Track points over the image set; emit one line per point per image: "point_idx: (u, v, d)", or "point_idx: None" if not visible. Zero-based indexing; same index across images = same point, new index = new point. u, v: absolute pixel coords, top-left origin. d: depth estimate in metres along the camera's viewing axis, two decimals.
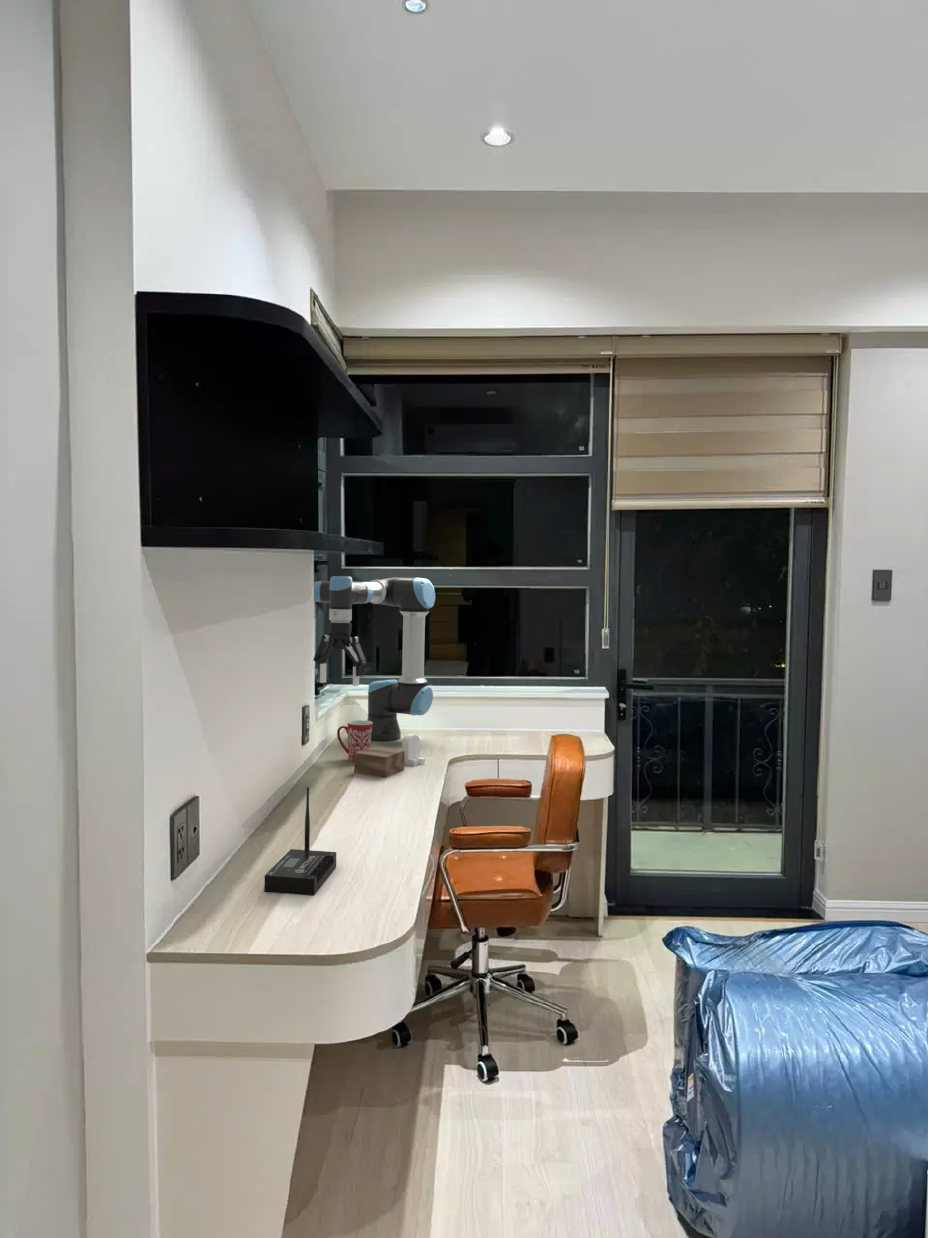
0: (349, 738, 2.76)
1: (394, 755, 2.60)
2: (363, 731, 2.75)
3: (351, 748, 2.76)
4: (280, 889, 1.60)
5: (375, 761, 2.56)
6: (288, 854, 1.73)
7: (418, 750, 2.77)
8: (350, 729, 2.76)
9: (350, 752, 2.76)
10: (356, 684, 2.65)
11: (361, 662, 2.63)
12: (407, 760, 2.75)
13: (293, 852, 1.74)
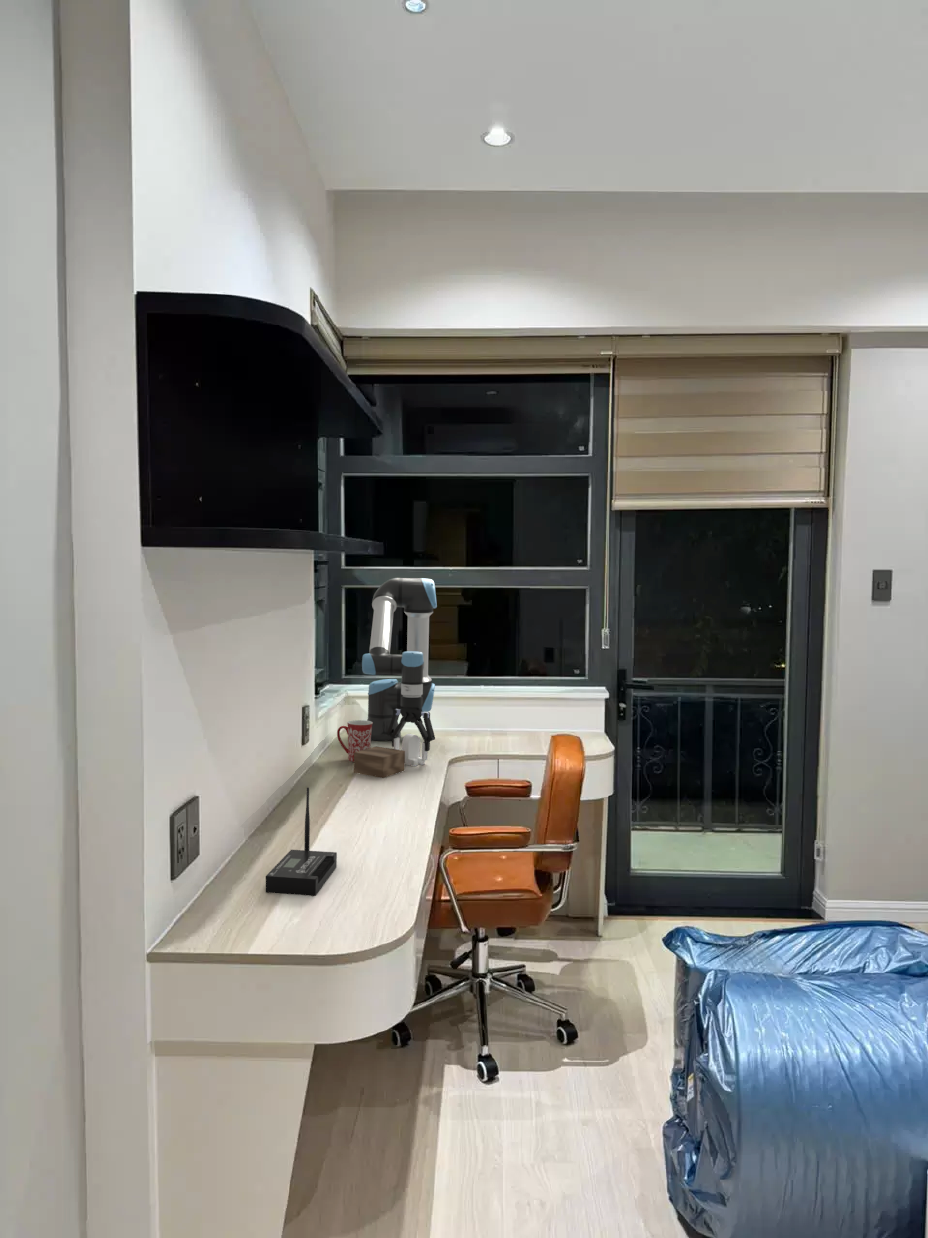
0: (349, 738, 2.76)
1: (393, 755, 2.59)
2: (363, 731, 2.75)
3: (351, 748, 2.76)
4: (281, 889, 1.60)
5: (374, 761, 2.56)
6: (288, 855, 1.73)
7: (418, 750, 2.77)
8: (350, 729, 2.76)
9: (350, 752, 2.76)
10: (425, 759, 2.74)
11: (430, 738, 2.72)
12: (407, 760, 2.74)
13: (293, 853, 1.74)
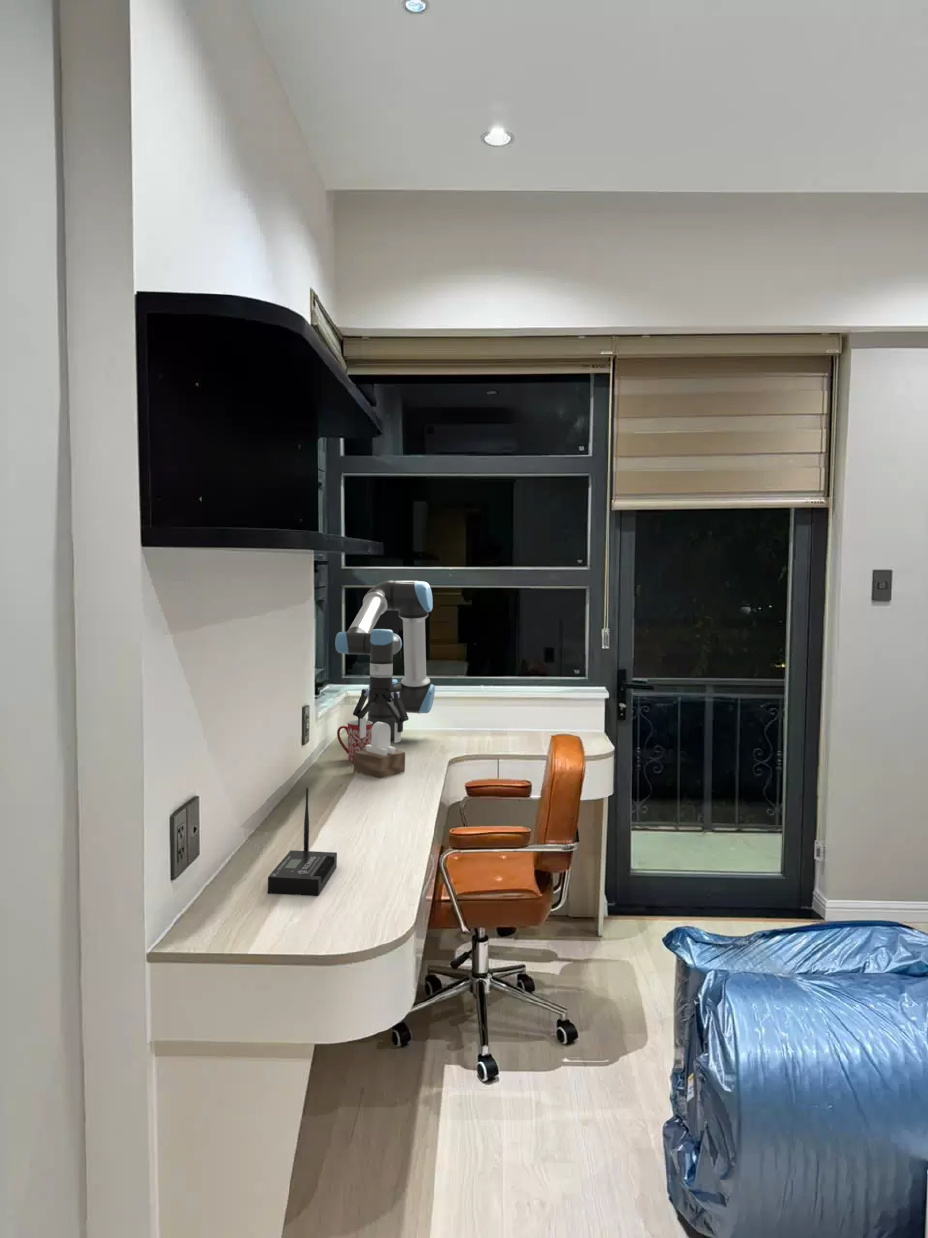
0: (349, 738, 2.76)
1: (392, 756, 2.59)
2: None
3: (351, 748, 2.76)
4: (284, 890, 1.60)
5: (371, 762, 2.57)
6: (289, 855, 1.72)
7: (388, 739, 2.63)
8: (350, 729, 2.76)
9: (350, 752, 2.76)
10: (398, 740, 2.59)
11: (403, 718, 2.57)
12: (376, 750, 2.60)
13: (293, 853, 1.74)
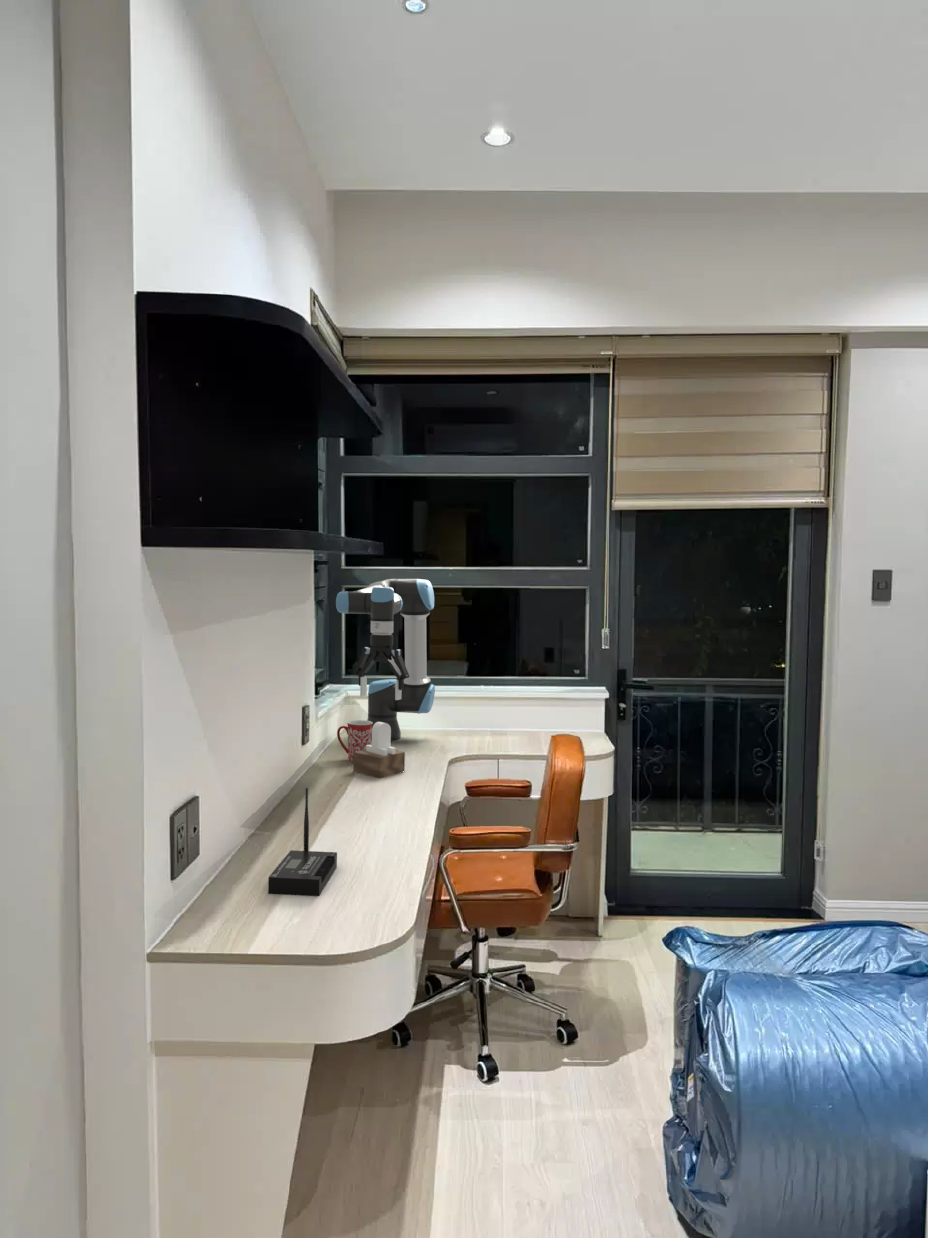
0: (349, 738, 2.76)
1: (391, 756, 2.59)
2: (363, 731, 2.75)
3: (351, 748, 2.76)
4: (285, 890, 1.60)
5: (371, 762, 2.57)
6: (289, 855, 1.72)
7: (389, 739, 2.62)
8: (350, 729, 2.76)
9: (350, 752, 2.76)
10: (398, 698, 2.59)
11: (404, 675, 2.56)
12: (376, 750, 2.60)
13: (293, 854, 1.74)
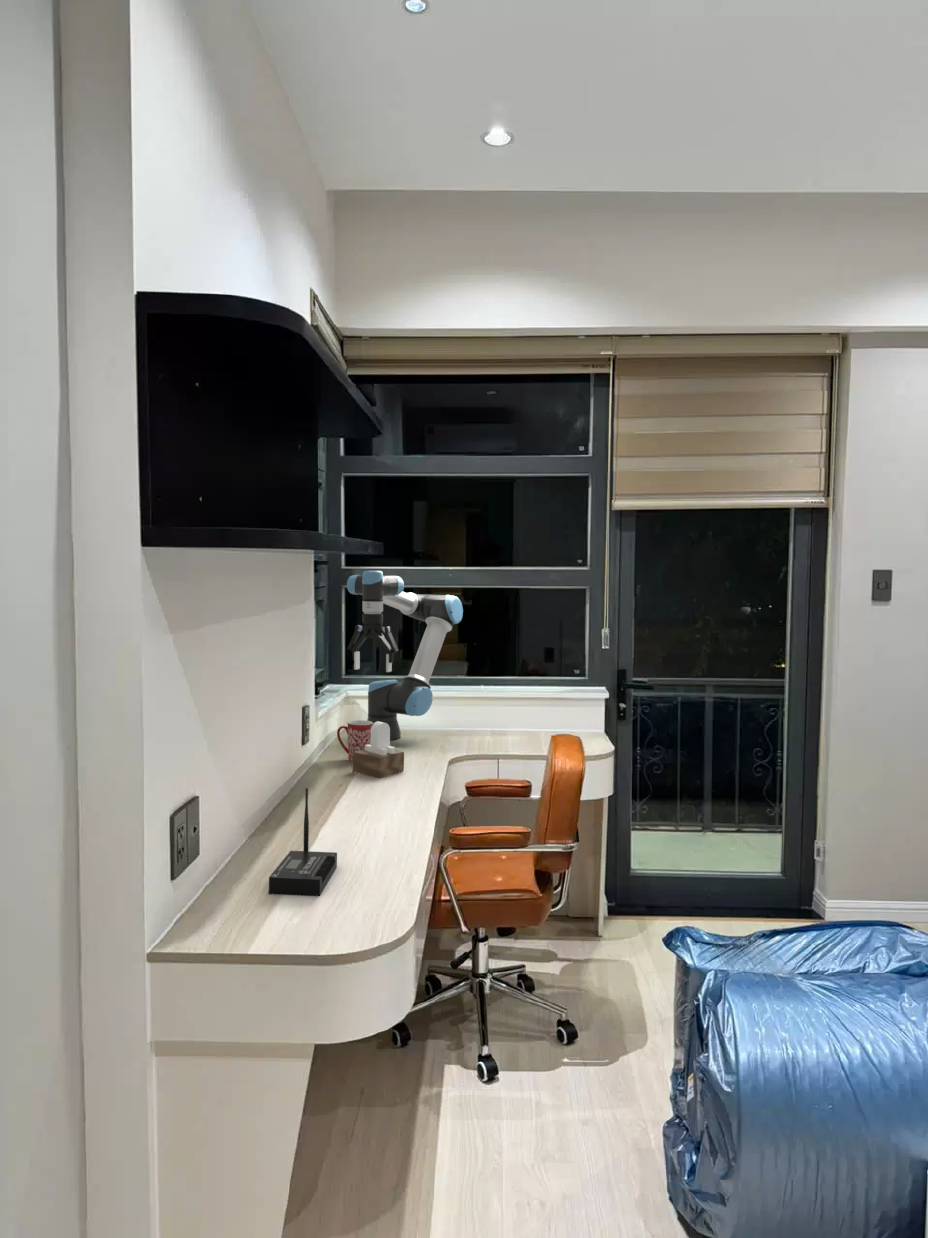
0: (349, 738, 2.76)
1: (391, 756, 2.59)
2: (363, 731, 2.75)
3: (351, 748, 2.76)
4: (285, 890, 1.60)
5: (371, 761, 2.57)
6: (289, 856, 1.72)
7: (388, 738, 2.62)
8: (350, 729, 2.76)
9: (350, 752, 2.76)
10: (389, 670, 2.88)
11: (394, 650, 2.86)
12: (376, 749, 2.60)
13: (293, 854, 1.73)
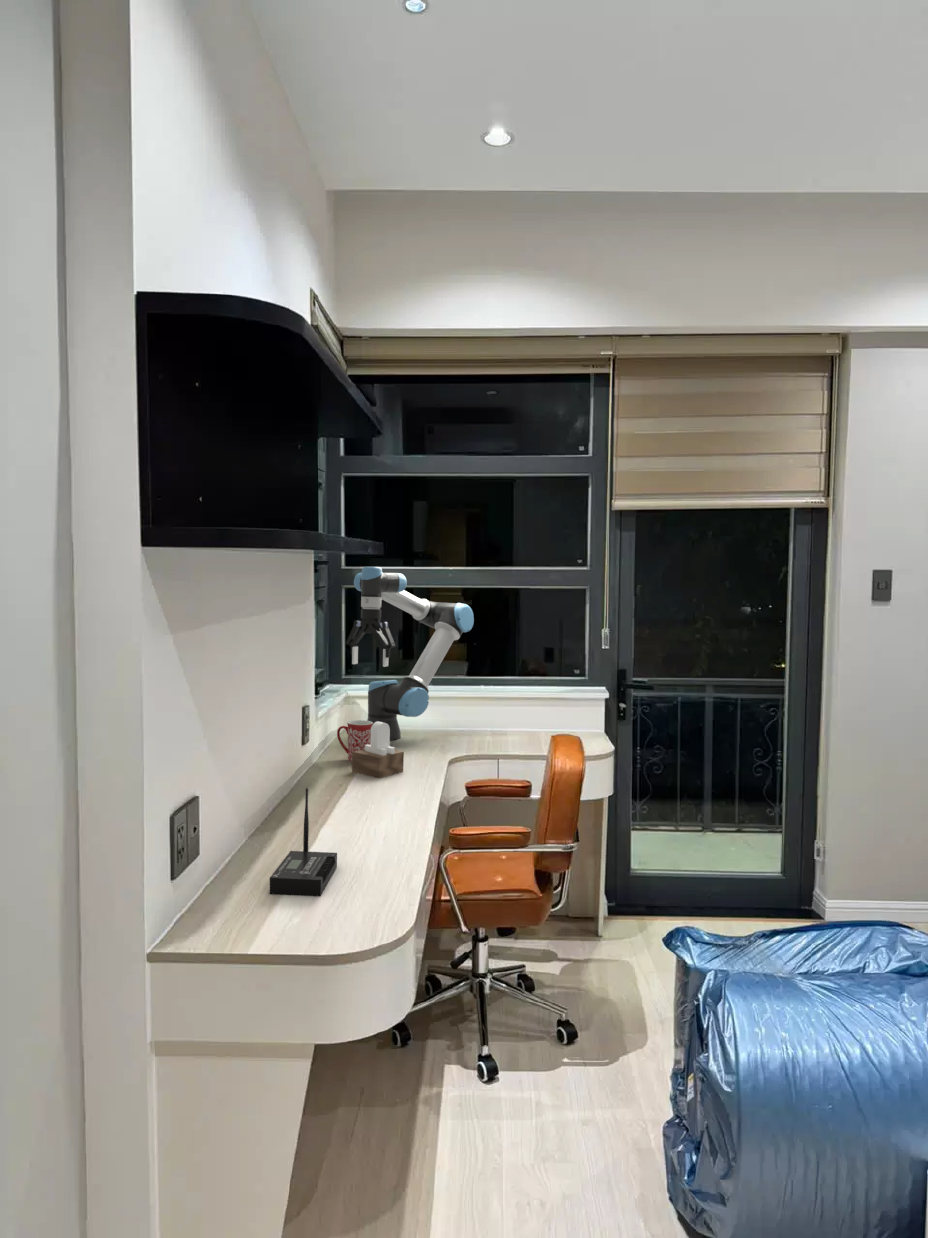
0: (349, 738, 2.76)
1: (390, 756, 2.59)
2: (363, 731, 2.75)
3: (351, 748, 2.76)
4: (286, 891, 1.60)
5: (370, 761, 2.57)
6: (289, 856, 1.72)
7: (388, 739, 2.62)
8: (350, 729, 2.75)
9: (350, 752, 2.76)
10: (386, 665, 2.92)
11: (390, 645, 2.90)
12: (375, 749, 2.59)
13: (293, 854, 1.73)
